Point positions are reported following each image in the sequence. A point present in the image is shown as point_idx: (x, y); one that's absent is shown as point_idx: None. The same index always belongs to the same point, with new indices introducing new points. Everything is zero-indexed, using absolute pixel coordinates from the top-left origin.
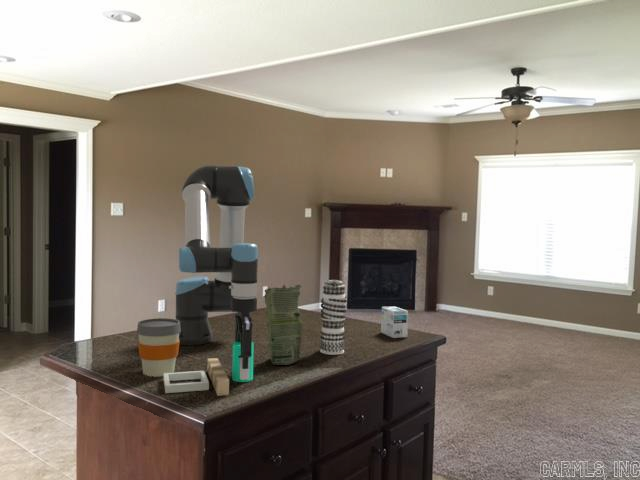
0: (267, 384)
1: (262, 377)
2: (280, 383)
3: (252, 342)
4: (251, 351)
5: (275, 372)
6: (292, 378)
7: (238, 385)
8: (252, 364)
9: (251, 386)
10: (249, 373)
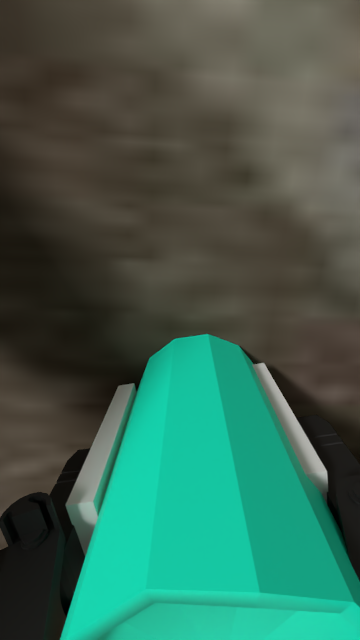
0: (332, 245)
1: (178, 272)
2: (327, 147)
3: (189, 598)
4: (307, 497)
5: (62, 171)
6: (217, 30)
7: (318, 413)
8: (233, 384)
9: (351, 345)
10: (257, 376)
